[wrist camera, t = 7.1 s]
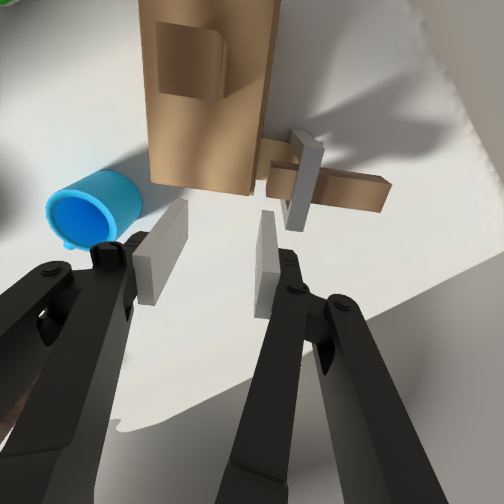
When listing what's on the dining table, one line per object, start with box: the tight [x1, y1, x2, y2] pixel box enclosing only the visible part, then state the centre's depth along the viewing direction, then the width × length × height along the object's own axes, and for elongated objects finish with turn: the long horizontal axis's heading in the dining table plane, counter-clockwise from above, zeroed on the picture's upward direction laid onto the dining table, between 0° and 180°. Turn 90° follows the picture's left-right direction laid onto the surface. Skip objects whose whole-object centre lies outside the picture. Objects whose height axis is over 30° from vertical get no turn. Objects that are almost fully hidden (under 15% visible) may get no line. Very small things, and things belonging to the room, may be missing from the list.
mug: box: [45, 170, 143, 252], centre depth 36 cm, size 12×8×8 cm
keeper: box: [280, 128, 325, 232], centre depth 30 cm, size 2×8×12 cm, turn 172°
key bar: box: [266, 160, 392, 213], centre depth 28 cm, size 12×3×3 cm, turn 82°
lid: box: [140, 0, 275, 196], centre depth 23 cm, size 11×18×8 cm, turn 172°
